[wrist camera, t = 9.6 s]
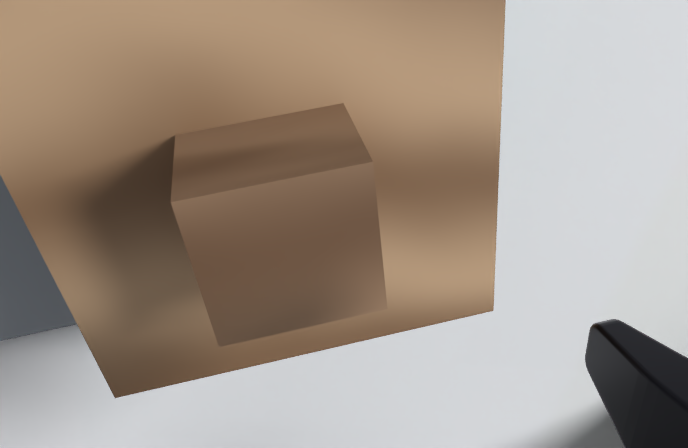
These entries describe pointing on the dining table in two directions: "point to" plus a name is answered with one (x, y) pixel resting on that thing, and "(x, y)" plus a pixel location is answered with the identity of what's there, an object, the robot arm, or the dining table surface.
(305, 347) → the lid
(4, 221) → the mat
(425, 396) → the dining table surface
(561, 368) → the dining table surface
